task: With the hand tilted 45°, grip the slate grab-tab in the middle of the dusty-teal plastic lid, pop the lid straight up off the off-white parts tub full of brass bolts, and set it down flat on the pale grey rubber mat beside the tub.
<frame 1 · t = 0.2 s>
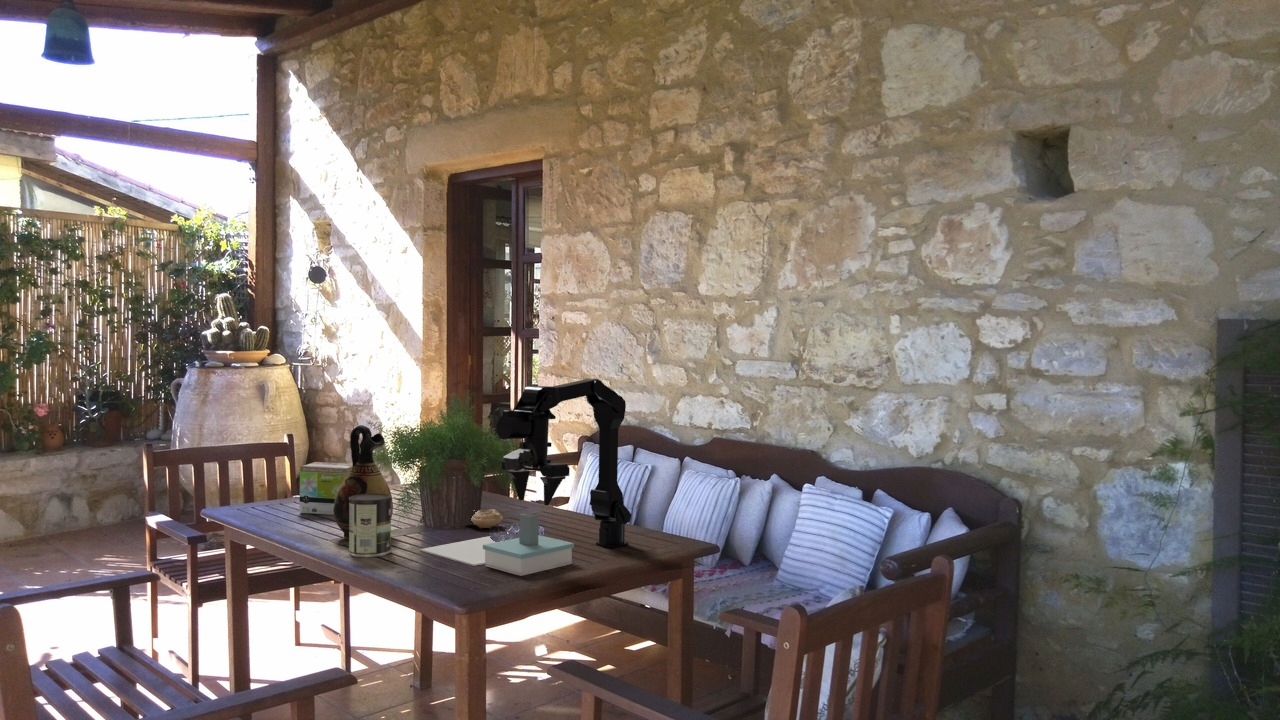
hand: (533, 502, 222), 15 cm above the table, tool pointing down, fingers open, 9 cm apart
teal lid: (528, 548, 220), point 4 cm above the table, touching parts tub
parts tub: (528, 564, 220), on the table
coffee can: (369, 553, 230), on the table
grey mat: (481, 551, 234), on the table
tea box: (329, 512, 282), on the table
pottery oil lamp: (482, 527, 264), on the table
ceramic jug: (361, 538, 247), on the table
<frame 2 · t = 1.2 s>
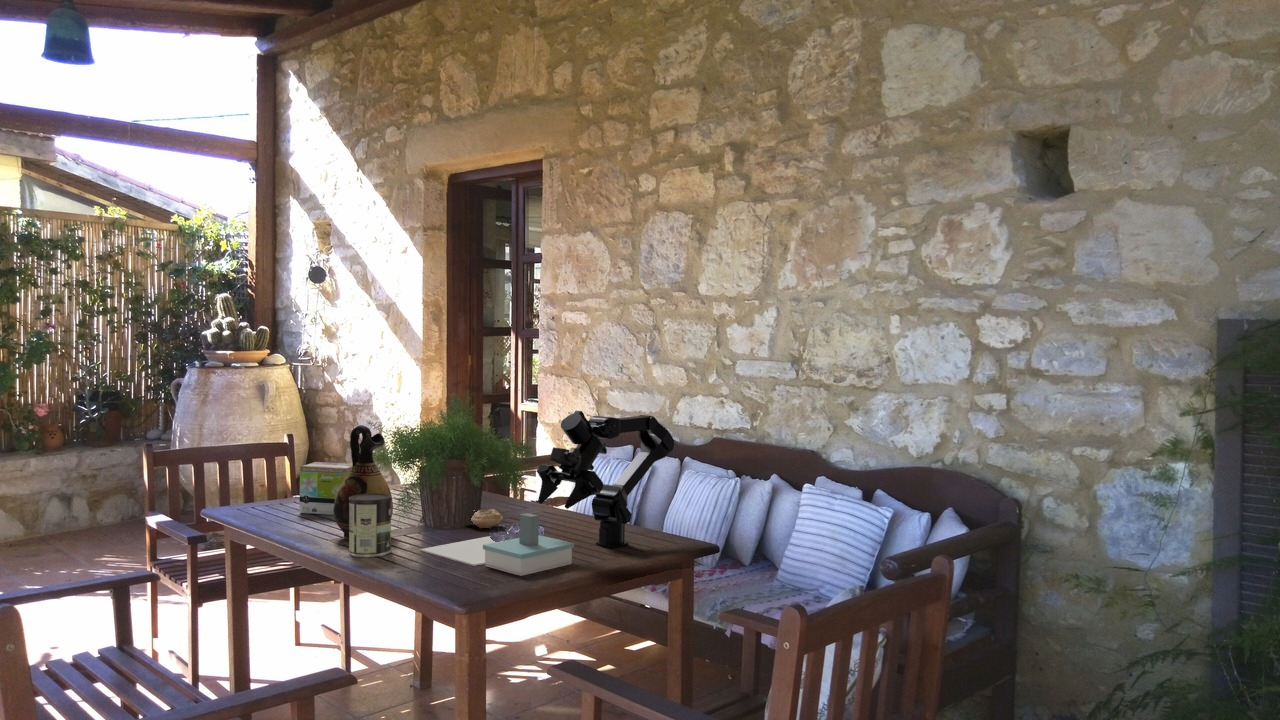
hand: (552, 505, 225), 13 cm above the table, tool tilted 45°, fingers open, 9 cm apart
nothing on the table moved.
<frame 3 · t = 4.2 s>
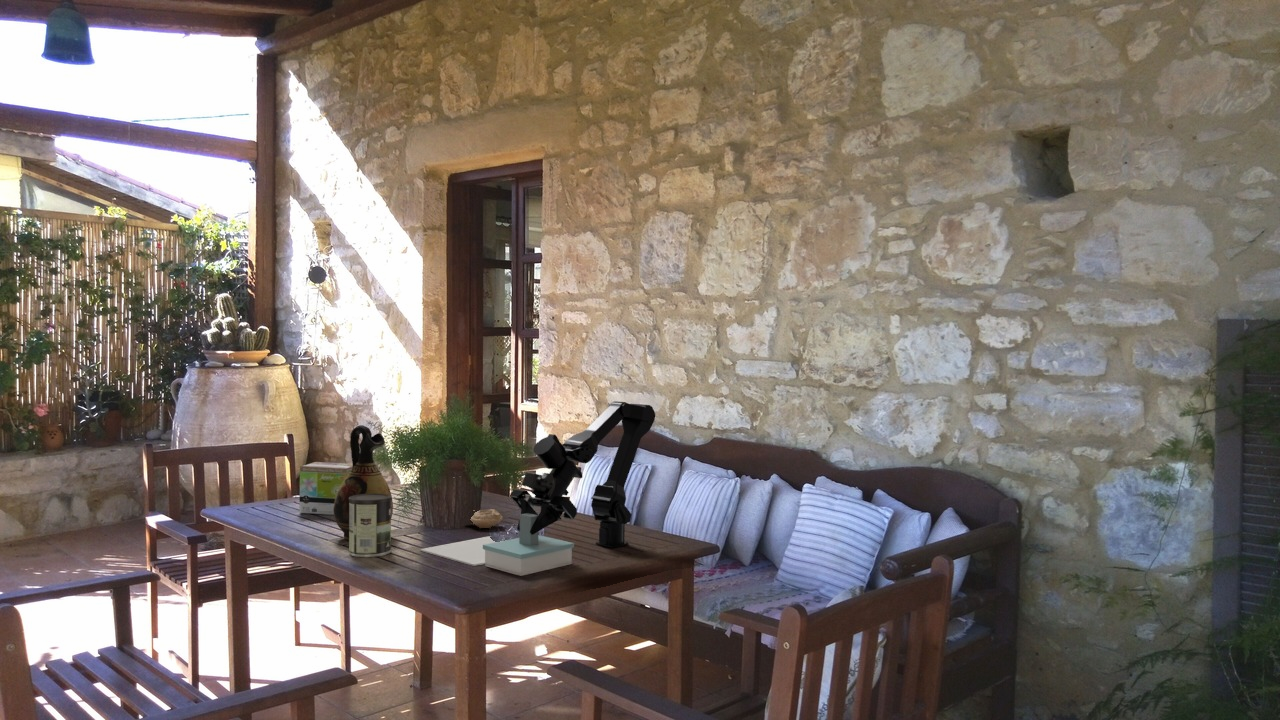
hand: (524, 532, 219), 8 cm above the table, tool tilted 45°, fingers closed on teal lid, 4 cm apart
teal lid: (528, 548, 220), point 4 cm above the table, touching gripper, parts tub
everything else where it was.
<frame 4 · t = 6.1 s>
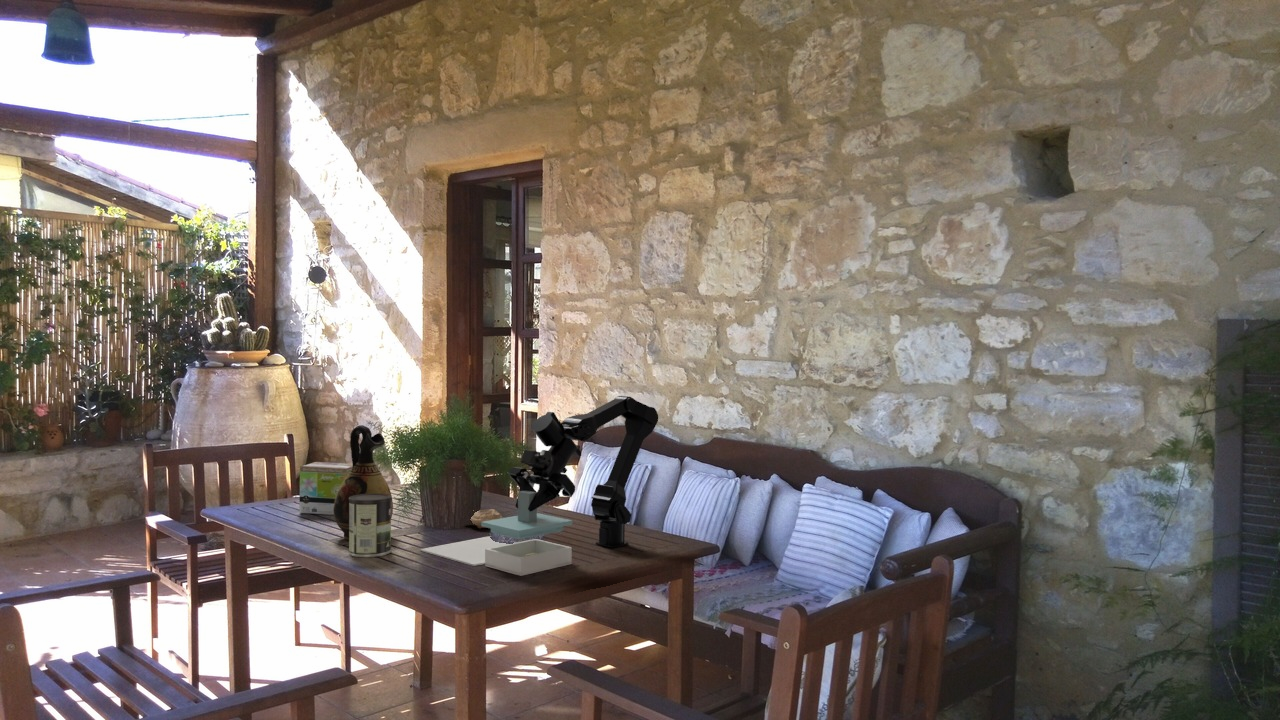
hand: (522, 509, 219), 14 cm above the table, tool tilted 45°, fingers closed on teal lid, 4 cm apart
teal lid: (527, 525, 220), point 9 cm above the table, touching gripper
everything else where it was.
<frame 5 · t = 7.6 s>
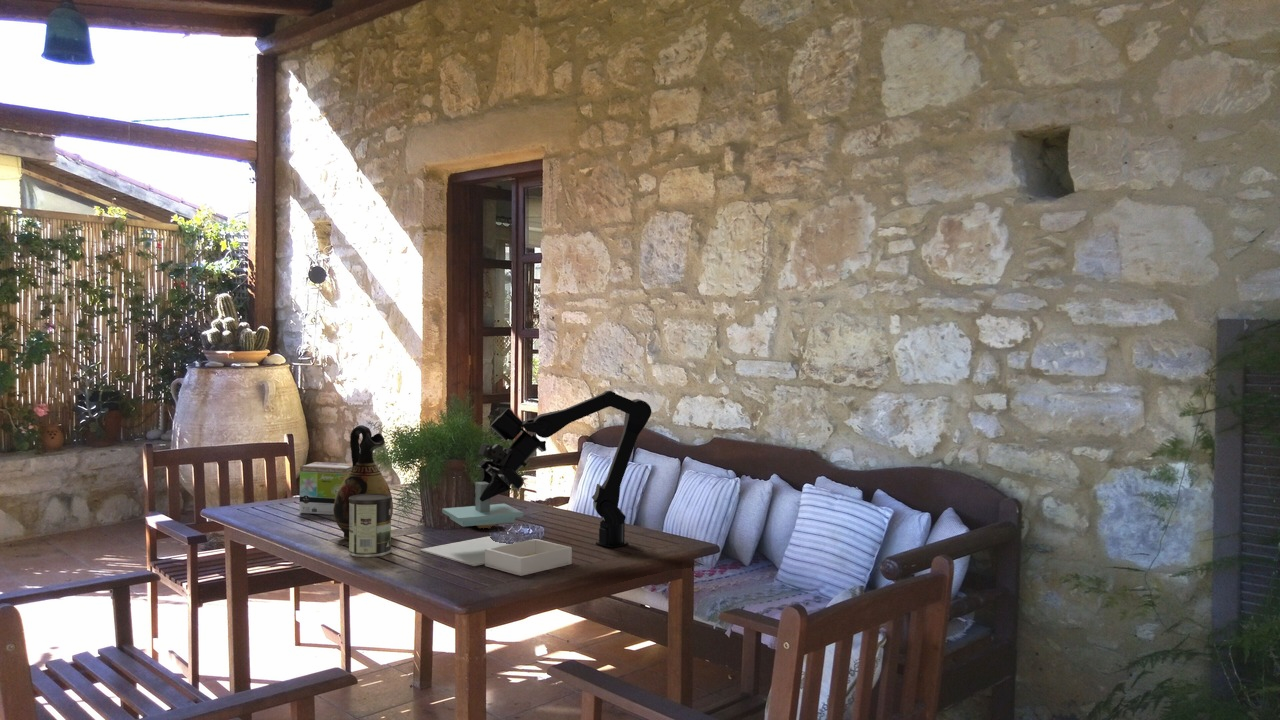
hand: (477, 498, 233), 13 cm above the table, tool tilted 45°, fingers closed on teal lid, 4 cm apart
teal lid: (482, 514, 233), point 9 cm above the table, touching gripper
everything else where it was.
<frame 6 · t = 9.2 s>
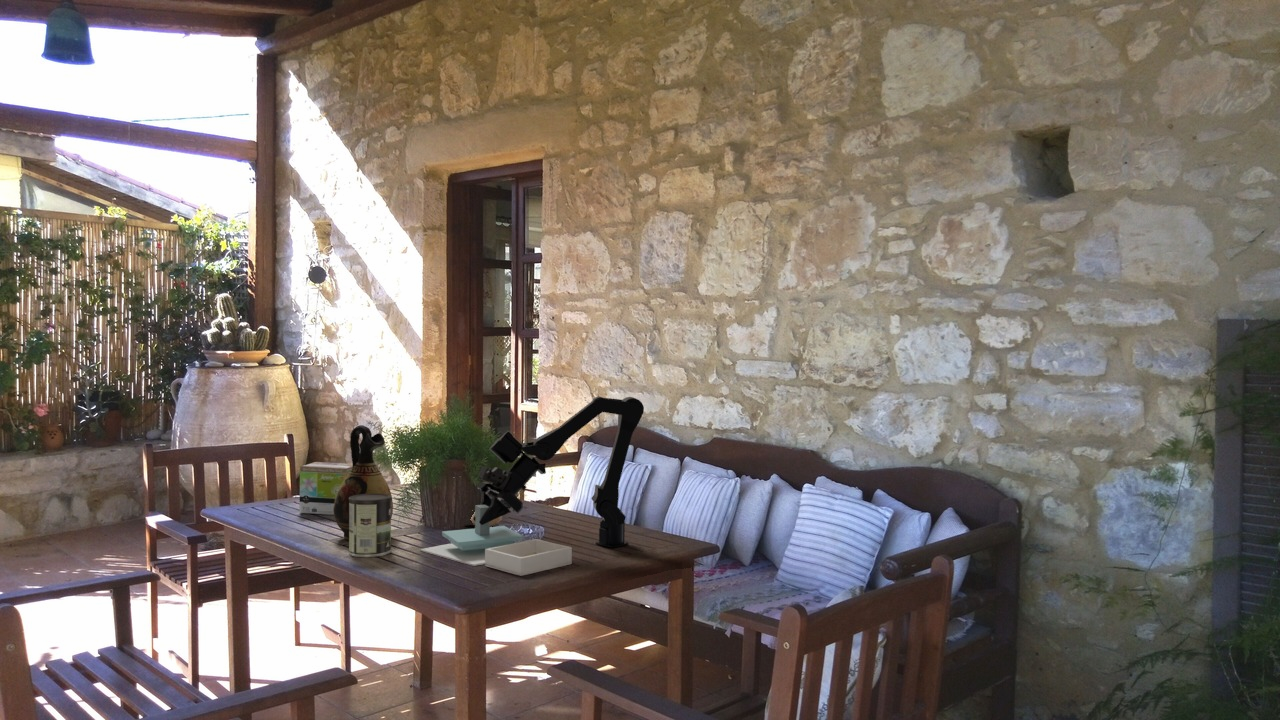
hand: (477, 522, 233), 7 cm above the table, tool tilted 45°, fingers closed on teal lid, 4 cm apart
teal lid: (482, 537, 233), point 3 cm above the table, touching gripper
everything else where it was.
when the fingers open (7 cm above the table, at t = 9.6 s): teal lid drops 2 cm, resting on grey mat.
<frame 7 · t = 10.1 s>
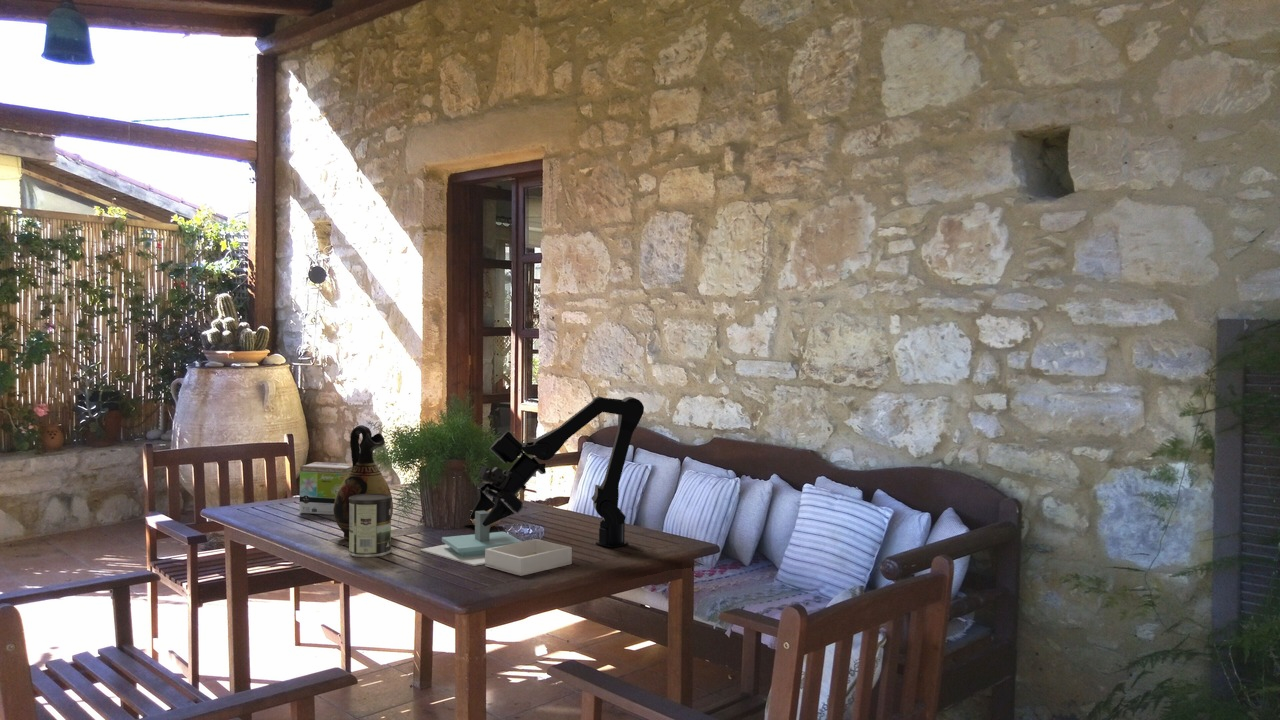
hand: (477, 521, 233), 8 cm above the table, tool tilted 45°, fingers open, 9 cm apart
teal lid: (482, 543, 233), point 2 cm above the table, touching grey mat
everything else where it was.
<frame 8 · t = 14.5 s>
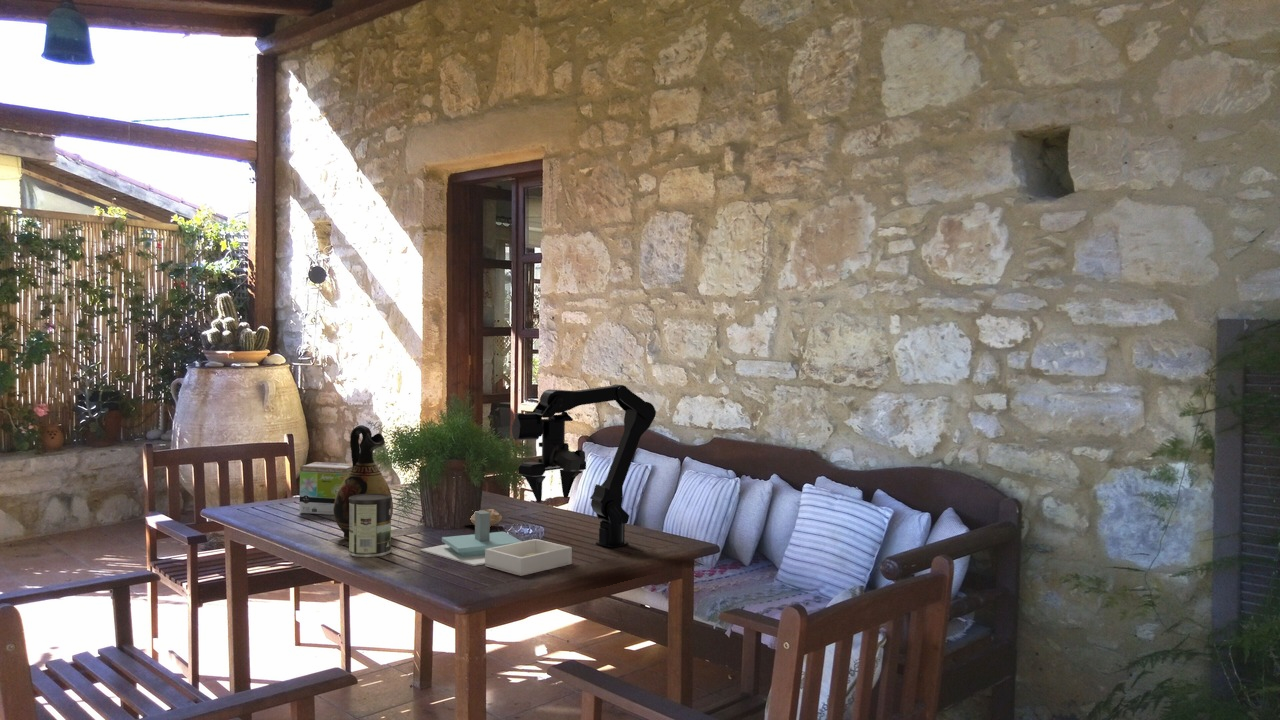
hand: (552, 500, 235), 13 cm above the table, tool pointing down, fingers open, 9 cm apart
nothing on the table moved.
at the end: teal lid inside the target area on the grey mat (0.0 cm from its centre), point 1.9 cm above the grey mat's base; teal lid touching grey mat; teal lid tilted 0° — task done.
